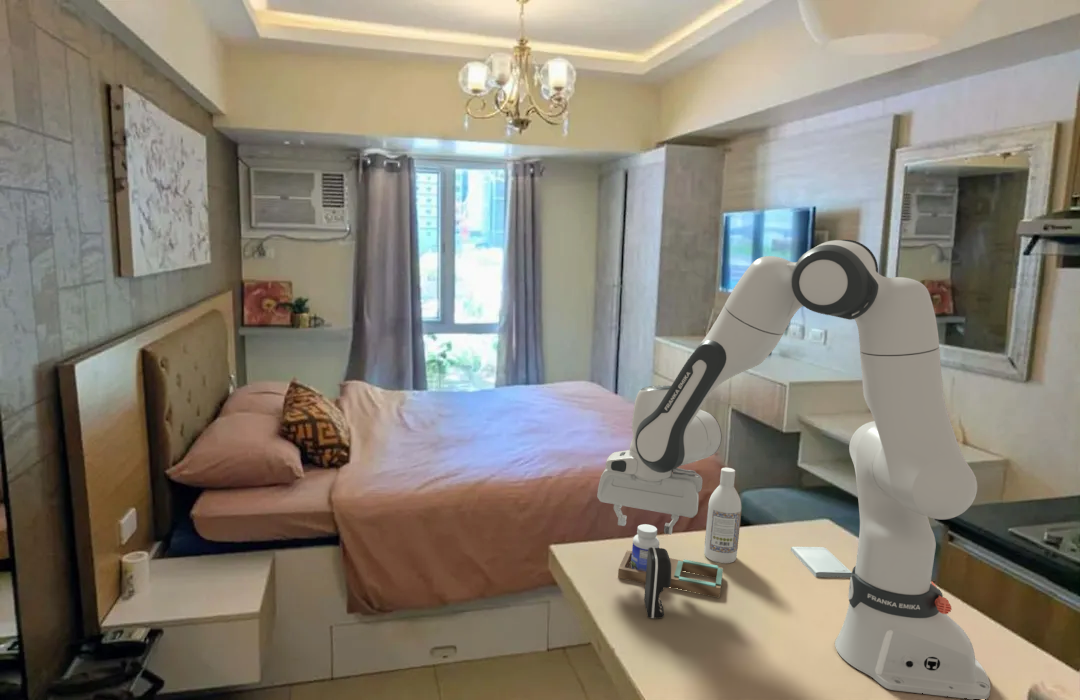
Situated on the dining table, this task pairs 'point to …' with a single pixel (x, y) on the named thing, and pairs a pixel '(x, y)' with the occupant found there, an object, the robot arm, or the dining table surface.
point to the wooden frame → (679, 575)
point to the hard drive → (821, 562)
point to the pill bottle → (643, 546)
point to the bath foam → (723, 520)
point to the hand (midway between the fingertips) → (644, 528)
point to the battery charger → (656, 580)
